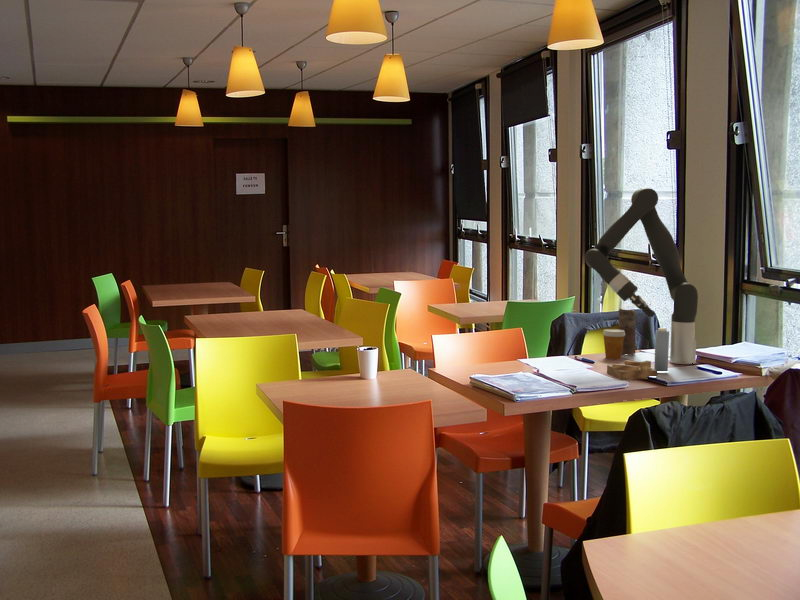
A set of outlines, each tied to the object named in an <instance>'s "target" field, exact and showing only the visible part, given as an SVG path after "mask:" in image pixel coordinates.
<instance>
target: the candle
mask: <svg viewBox="0 0 800 600" xmlns="http://www.w3.org/2000/svg"><path fill="white" fill-rule="evenodd" d="M636 319H637V316H636V310H635V309H631V310H630V309H622V308H619V309H618V329H619V330H624V331H625V336H624V341H623V348H622V354H621V355H623V354H632V355H634V354H636V349H637V348H636V345H637V343H636V321H637V320H636Z"/></svg>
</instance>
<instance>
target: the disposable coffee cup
mask: <svg viewBox="0 0 800 600" xmlns="http://www.w3.org/2000/svg"><path fill="white" fill-rule="evenodd" d="M602 335H603V343H604V344H603V345H604V354H605V358H606V359H607V358H609V359H608V360H621V359H622V355H623V354H622V348H623V341H624V336H625V331H624V330H619V328H618V329H617V328H609V329H608V328H606V329H603V332H602Z"/></svg>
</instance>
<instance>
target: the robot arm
mask: <svg viewBox="0 0 800 600" xmlns="http://www.w3.org/2000/svg"><path fill="white" fill-rule="evenodd" d="M658 201H659V194H658V193H657V191H656V190H655V189H653V188H650V187H643V188H639V189H636V190H635V191H634V192H633V193H632V195H631V201H630V202H631V205H630V206H629V207H628V209H627V210H626V211H625V212H624V213H623V215H621V216H620V217H619V218H618V219H617V220H616V221H615V222H614V223H612V224H611V225H610V227H608V228H607V230H606V231H605V232H604V233H603V234H602V236H601V237H600V238H599V240H598V243H597V244H596V245H595V246H594V247H593V248H590V249H589V250H587V251H586V253H585V255H584V260H585V263H586V265H587V266H588V267H589V268H591V269H593V270H595V273H597V274H599V276H600V278H601V279H602V280H603V281H604V282H605V283H606V284H607V286H608V287H609V288H610V289H612V291H613V292H614V293H615V294H616V295H617V296H618V297H619V298H620V299H621V300H622V301H623V302H626V301H628V300H629V301H631V303H632V304H633V306H635V307H636V308H637V309H639V310H640V311H642V312H643V313H644V314H645V315H646V316H648V318H649V317H650V318H653V317H654V316H655V315H656V312H655V311H653V310H652V308H650V306H649V305H648V304H647V302H646V301H645V300H644V299H643V298H642V296H640V295H638V294H636V292H637V291H638V289H639V288H638V286H636V285H635V284H634V283H633V282H632V280H630V279H629V278H628V277H627V276H626V275H625V274H623V273H622V272H621V271H620V270H619V269H618V267H616V266H614V265H613V264H612V263H611V261H610V260H609V259H608V257H609V256H610V254H611V252H612V251H613V250H614V249H616V248H617V246H618V245H619V244H620V243H621V241H622V240H624V238H625V237H626V235H627V234H628V233H629V231H630V230H632V228H633V227H634V226H635V225H636V224H637V223H638V222H639V221H641V223H642V226H643V229H644V232H645V236H646V238H647V240H648V242H649V245H650V247H651V250H652V252H653V253H652V254H653V255H654V257H655V259H656V262H657V263H658V266H659V267H660V270H661V271H662V274H663V275H664V279H665V282H666V284H667V288H668V293H669V295H670V298H671V300H672V301H673V302H674V304H673V312H672V314H671V320H670V321H671V323H670V346H669V347H670V351H669V353H670V354H669V362H670V363H671V364H676V365H677V364H678V365H693V364H696V363H697V362H696V357H697V356H696V355H697V340H696V339H695V329H696V324H695V323H696V316H697V314H698V301H699V295H698V290H697V288H696V287H695V286H694V285H693V284H692V283H689V282H688V280H687V278H686V277H685V275H684V272H683V270H682V267H681V261H680V256H679V255H680V254H679V250H678V248H677V245H676V243H675V240H674V238H673V236H672V234H671V233H670V231H669V229H668V228H667V226H666V225H665V223H664V222H663V221H662V220H661V218H660V216H659V214H658V211H657V208H656V206H657V205H658ZM692 363H693V364H692Z"/></svg>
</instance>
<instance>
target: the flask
mask: <svg viewBox="0 0 800 600" xmlns="http://www.w3.org/2000/svg"><path fill="white" fill-rule="evenodd" d="M654 335H655V338H654V368H653V369H654V370H657V371H668V372H669V370H668V369H669V347H670V345H669V344H670V342H669V341H670V331H668V329H667V328H666V327H658V328H657V330H655V334H654Z"/></svg>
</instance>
